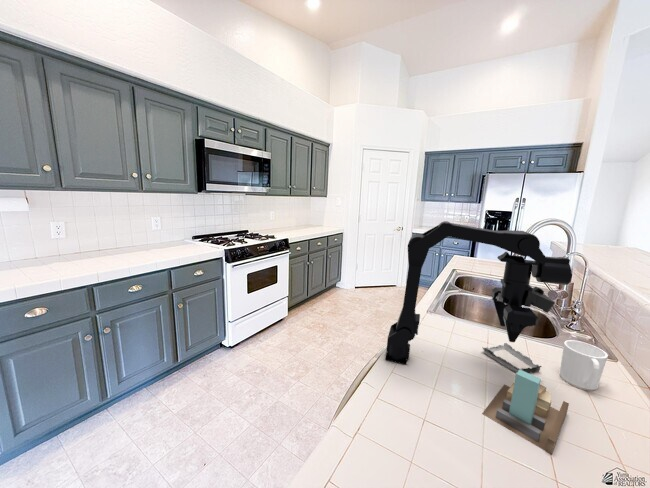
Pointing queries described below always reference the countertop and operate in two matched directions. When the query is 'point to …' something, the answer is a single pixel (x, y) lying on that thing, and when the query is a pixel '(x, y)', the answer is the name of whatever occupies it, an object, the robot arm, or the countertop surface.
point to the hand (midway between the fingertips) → (506, 333)
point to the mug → (582, 364)
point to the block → (524, 396)
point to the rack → (544, 418)
